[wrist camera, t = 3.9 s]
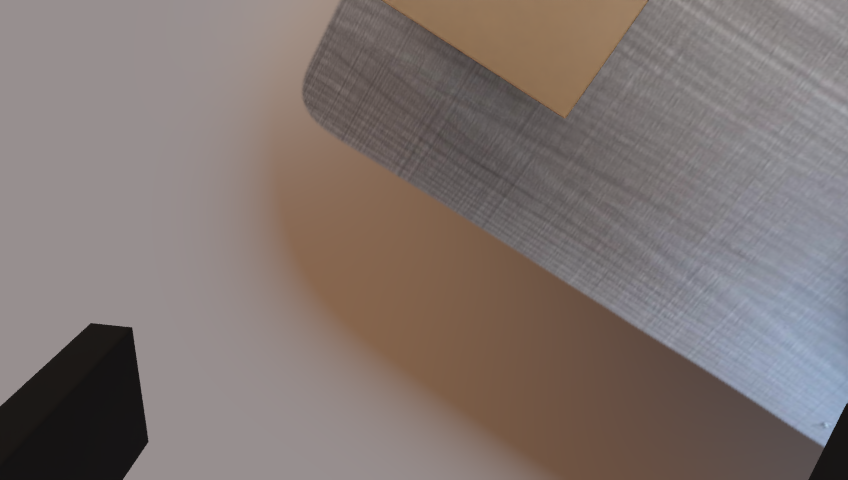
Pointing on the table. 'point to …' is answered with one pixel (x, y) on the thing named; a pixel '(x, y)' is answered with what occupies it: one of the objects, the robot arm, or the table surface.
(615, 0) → the stand
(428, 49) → the table surface
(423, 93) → the table surface
